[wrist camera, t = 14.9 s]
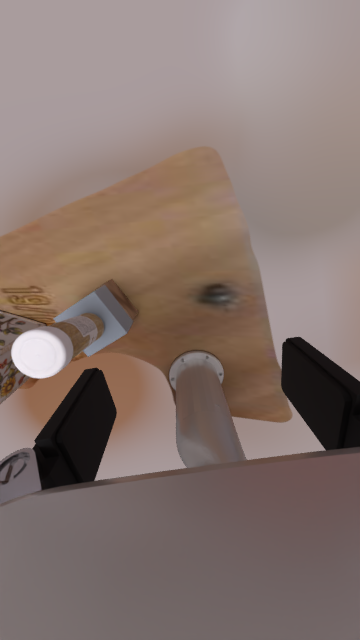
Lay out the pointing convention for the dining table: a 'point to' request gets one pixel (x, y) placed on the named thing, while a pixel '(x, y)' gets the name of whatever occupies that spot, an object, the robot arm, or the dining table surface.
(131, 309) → the walnut base block
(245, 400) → the dining table surface
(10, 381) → the decorative jar
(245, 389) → the dining table surface
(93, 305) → the slate top block
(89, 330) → the sprinkles bottle
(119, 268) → the dining table surface
